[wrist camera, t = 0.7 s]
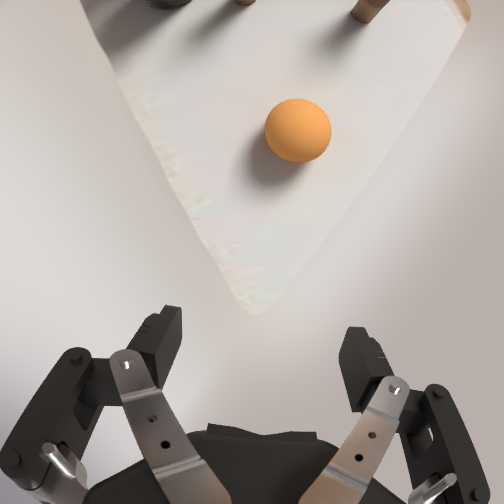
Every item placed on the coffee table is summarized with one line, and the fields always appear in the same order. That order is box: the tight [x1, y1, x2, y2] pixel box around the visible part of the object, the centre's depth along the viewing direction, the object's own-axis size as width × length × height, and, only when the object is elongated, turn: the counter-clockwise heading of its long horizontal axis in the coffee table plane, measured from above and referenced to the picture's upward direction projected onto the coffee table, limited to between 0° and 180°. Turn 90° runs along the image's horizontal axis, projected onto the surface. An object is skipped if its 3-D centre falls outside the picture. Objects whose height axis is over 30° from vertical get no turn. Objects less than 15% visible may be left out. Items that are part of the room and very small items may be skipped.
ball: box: [265, 99, 331, 163], centre depth 23 cm, size 6×6×6 cm
